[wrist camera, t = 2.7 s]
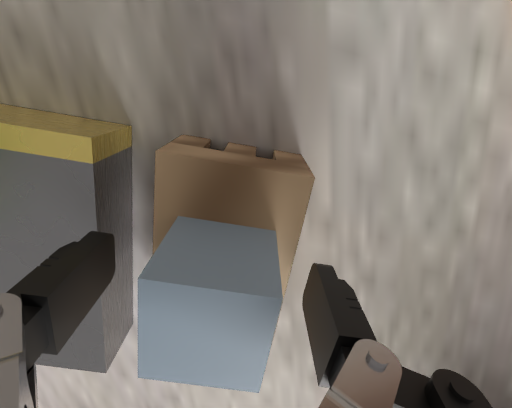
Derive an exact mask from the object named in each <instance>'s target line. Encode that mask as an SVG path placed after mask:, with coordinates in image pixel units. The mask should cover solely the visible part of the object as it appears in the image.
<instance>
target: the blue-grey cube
mask: <svg viewBox="0 0 512 408" xmlns="http://www.w3.org/2000/svg"><path fill="white" fill-rule="evenodd" d="M282 301H283V295H282V285H281V275H280V266H279V256H278V247H277V237H276V231H274V230H267V229H261V228H254V227H248V226H241V225H235V224H228V223H221V222H215V221H208V220H202V219H195V218H189V217H182V216H178V217H177V219H176V220H175V222H174V223H173V225H172V226H171V228H170V229H169V231H168V233H167V234H166V236H165V237H164V239H163V240H162V242H161V243H160V245H159V247H158V248H157V250H156V251H155V253H154V254H153V256H152V257H151V259H150V260H149V262H148V264H147V265H146V267H145V268H144V270H143V271H142V273H141V274H140V276H139V278H138V378H144V379H152V380H160V381H168V382H176V383H184V384H192V385H200V386H208V387H216V388H224V389H232V390H240V391H248V392H256V393H259V391H260V387H261V383H262V379H263V375H264V372H265V368H266V364H267V360H268V356H269V352H270V348H271V344H272V340H273V336H274V332H275V328H276V324H277V321H278V317H279V313H280V309H281V305H282Z"/></svg>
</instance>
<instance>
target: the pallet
mask: <svg viewBox="0 0 512 408" xmlns="http://www.w3.org/2000/svg"><path fill="white" fill-rule="evenodd" d="M210 143H211V139H206V138H200V137H195V136H189V135H181V136H179V137H178V138H176V139H174V140H173V141H171V142H170V143H168V144H166V145H165V146H163V147H161V148H160V149H158V150H156V151H155V186H154V224H153V254H154V253H155V251H156V250H157V248H158V247H159V245H160V243H161V242H162V240H163V239H164V237H165V236H166V234H167V233H168V231H169V229H170V228H171V226H172V225H173V223H174V222H175V220H176V219H177V217H178V216H182V217H189V218H195V219H202V220H208V221H215V222H221V223H228V224H235V225H241V226H248V227H254V228H261V229H267V230H274V231H276V237H277V247H278V256H279V266H280V275H281V285H282V295H283V299H284V295H285V291H286V287H287V283H288V279H289V276H290V272H291V268H292V264H293V260H294V256H295V253H296V249H297V245H298V241H299V237H300V233H301V229H302V226H303V222H304V218H305V214H306V210H307V206H308V202H309V199H310V195H311V191H312V187H313V183H314V179H315V177H314V175H313V173H312V172H311V170H310V168H309V167H308V165H307V163H306V162H305V160H304V158H303V157H302V155H300V154H295V153H289V152H283V151H277V150H274V153H273V158H272V159H267V158H261V157H256V147H253V146H248V145H242V144H236V143H230V142H229V143H228V144H227V146H226V148H225V150H224V151H220V150H214V149H210ZM282 303H283V301H282ZM281 306H282V305H281ZM280 310H281V309H280ZM279 314H280V313H279ZM278 318H279V317H278ZM277 322H278V321H277ZM276 326H277V324H276ZM275 330H276V328H275ZM274 333H275V332H274ZM273 337H274V336H273ZM272 341H273V340H272ZM271 345H272V344H271Z"/></svg>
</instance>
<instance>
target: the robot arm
mask: <svg viewBox="0 0 512 408" xmlns="http://www.w3.org/2000/svg"><path fill="white" fill-rule="evenodd" d="M115 267H116V264H115V240H114V235H113V234H111V233H104V232H97V231H90V232H89V233H87V234H86V235H85V236H84V237H83V238H82V239H81V240H80V241H79V242H75V241H73V242H71V243H69V244H67V245H65V246H63V247H60V248H59V249H58V250H56V251H55V252H54V253H53V254H52V255H50V256H49V258H48V259H46V260H44V261H43V262H42V263H41V264H40V266H37V267H36V268H35V269H34V270H32V271H31V272H30V273H29V274H28V275H26V276H25V277H24V278H23V279H22V280H20V281H19V282H18V283H17V284H16V285H15V286H13V287H12V288H11V289H10V290H9V291H7V292H6V293H0V408H38V396H37V379H36V366H35V362H36V360H37V359H38V358H39V357H40V355H41V354H42V353H43V354H51V355H58V353H59V352H60V351H61V349H62V348H63V346H64V345H65V344H66V342H67V341H68V340H69V338H70V337H71V336H72V334H73V333H74V331H75V330H76V329H77V327H78V326H79V325H80V323H81V322H82V321H83V319H84V318H85V316H86V315H87V314H88V312H89V311H90V310H91V308H92V307H93V306H94V304H95V303H96V301H97V300H98V299H99V297H100V296H101V295H102V293H103V292H104V291H105V289H106V288H107V286H108V285H109V284H110V282H111V281H112V279H113V276H114V273H115ZM303 311H304V316H305V321H306V326H307V331H308V336H309V341H310V346H311V350H312V355H313V360H314V365H315V370H316V375H317V380H318V385H319V387H328V388H329V390H328V391H327V393H326V395H325V397H324V399H323V401H322V402H321V404H320V406H319V408H492V407H491V405H490V404H489V402H488V401H487V399H486V398H485V396H484V395H483V394H482V393H481V391H480V390H479V389H478V388H477V387H476V386H475V385H474V384H473V383H471V382H470V381H469V380H468V379H466V378H465V377H463V376H461V375H460V374H458V373H456V372H453V371H451V370H447V369H438V370H436V371H435V372H434V373H433V375H432V376H431V378H429V377H426V376H424V375H421V374H419V373H416V372H414V371H411V370H409V369H406V368H404V367H402V366H401V364H400V362H399V360H398V358H397V357H396V356H395V354H394V353H393V352H392V351H391V350H390V349H388V348H387V347H386V346H384V345H383V344H381V343H379V342H377V340H376V338H375V336H374V334H373V331H372V329H371V327H370V325H369V323H368V321H367V318H366V316H365V314H364V312H363V310H362V308H361V305H360V303H359V302H358V299H357V297H356V295H355V293H354V290H353V289H352V288H351V287H350V286H349V285H348V284H347V283H346V281H345V280H341V279H338V277H337V275H336V273H335V270H334V268H333V266H331V265H324V264H317V263H314V264H313V265H312V267H311V270H310V273H309V277H308V280H307V283H306V287H305V290H304V294H303Z"/></svg>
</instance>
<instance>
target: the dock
mask: <svg viewBox="0 0 512 408" xmlns="http://www.w3.org/2000/svg"><path fill="white" fill-rule="evenodd" d="M90 231H97V232H104V233H111V234H113V235H114V240H115V264H116V267H115V273H114V276H113V279H112V281H111V282H110V284H109V285H108V286H107V288H106V289H105V291H104V292H103V293H102V295H101V296H100V297H99V299H98V300H97V301H96V303H95V304H94V306H93V307H92V308H91V310H90V311H89V312H88V314H87V315H86V316H85V318H84V319H83V321H82V322H81V323H80V325H79V326H78V327H77V329H76V330H75V331H74V333H73V334H72V336H71V337H70V338H69V340H68V341H67V342H66V344H65V345H64V346H63V348H62V349H61V351H60V352H59V353H58V355H51V354H43V353H42V354H41V355H40V357H39V358H38V359H37V360H36V362H35V364H37V365H45V366H53V367H61V368H69V369H77V370H85V371H92V372H100V373H106V372H107V370H108V369H109V367H110V365H111V363H112V361H113V359H114V358H115V356H116V354H117V352H118V350H119V348H120V346H121V345H122V343H123V341H124V339H125V337H126V335H127V334H128V332H129V330H130V328H131V326H132V324H133V274H132V129H131V126H129V125H123V124H117V123H111V122H105V121H99V120H93V119H88V118H82V117H76V116H70V115H64V114H58V113H52V112H46V111H40V110H35V109H29V108H23V107H17V106H11V105H5V104H0V293H6V292H7V291H9V290H10V289H11V288H12V287H13V286H15V285H16V284H17V283H18V282H19V281H20V280H22V279H23V278H24V277H25V276H26V275H28V274H29V273H30V272H31V271H32V270H34V269H35V268H36V267H37V266H40V264H41V263H42V262H43V261H44V260H46V259H48V258H49V256H50V255H52V254H53V253H54V252H55V251H56V250H58V249H59V248H60V247H63V246H65V245H67V244H69V243H71V242H73V241H75V242H79V241H80V240H81V239H82V238H83V237H84V236H85V235H86V234H87V233H89V232H90Z"/></svg>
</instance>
